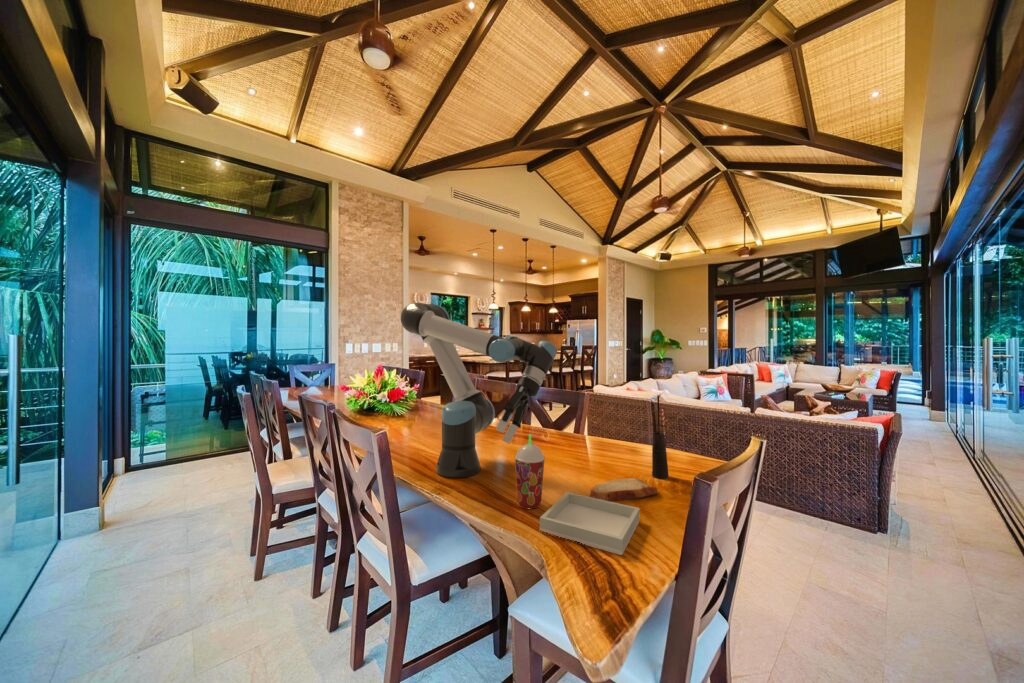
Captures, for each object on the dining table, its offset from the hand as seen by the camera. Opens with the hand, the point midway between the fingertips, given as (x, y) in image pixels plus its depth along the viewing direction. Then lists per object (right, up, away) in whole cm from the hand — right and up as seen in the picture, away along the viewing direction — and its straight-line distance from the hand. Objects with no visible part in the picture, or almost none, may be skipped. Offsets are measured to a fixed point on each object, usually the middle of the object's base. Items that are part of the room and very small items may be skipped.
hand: (502, 436), depth 130 cm
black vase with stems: (+54, -15, +6) cm, 56 cm away
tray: (+23, -15, -30) cm, 41 cm away
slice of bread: (+37, -16, -10) cm, 41 cm away
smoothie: (+8, -15, -18) cm, 25 cm away
